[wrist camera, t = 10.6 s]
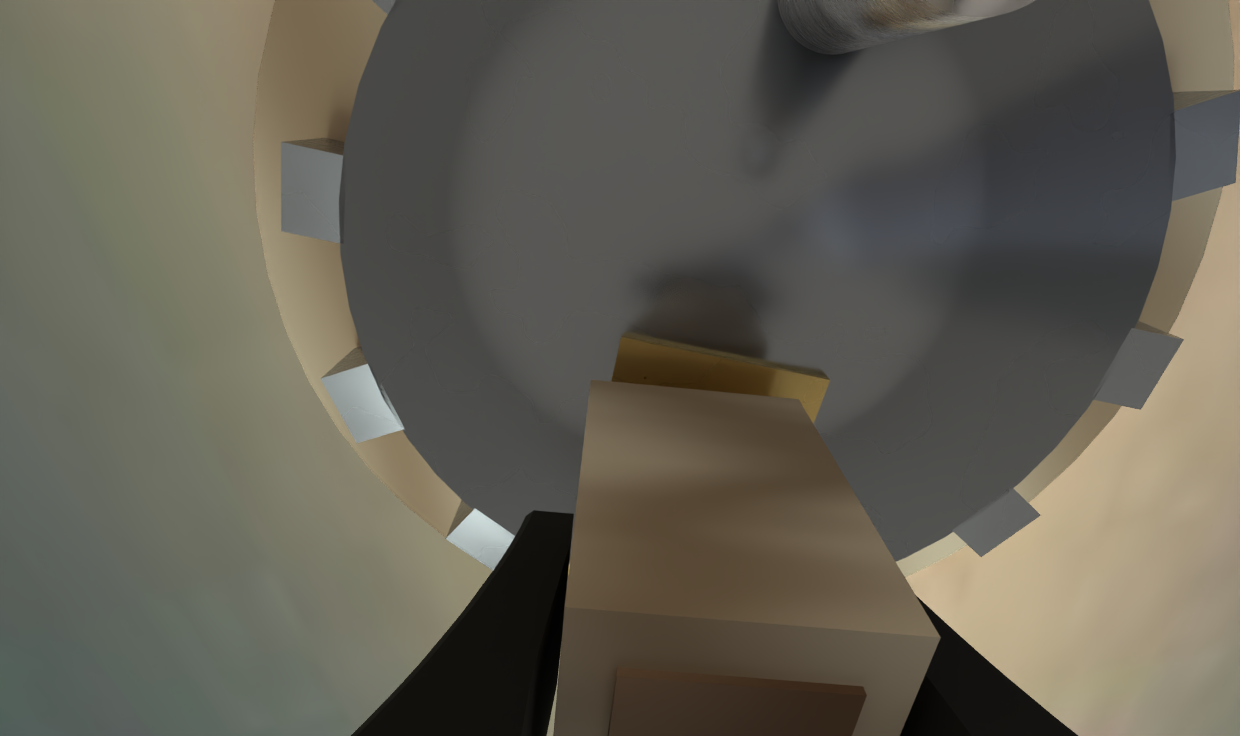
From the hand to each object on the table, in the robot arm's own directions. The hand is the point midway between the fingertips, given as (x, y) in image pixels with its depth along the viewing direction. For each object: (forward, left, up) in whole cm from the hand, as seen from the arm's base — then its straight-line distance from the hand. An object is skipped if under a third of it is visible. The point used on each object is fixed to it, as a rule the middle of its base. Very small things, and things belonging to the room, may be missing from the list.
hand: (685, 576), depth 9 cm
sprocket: (-3, -3, -5) cm, 6 cm away
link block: (0, 0, -2) cm, 2 cm away
